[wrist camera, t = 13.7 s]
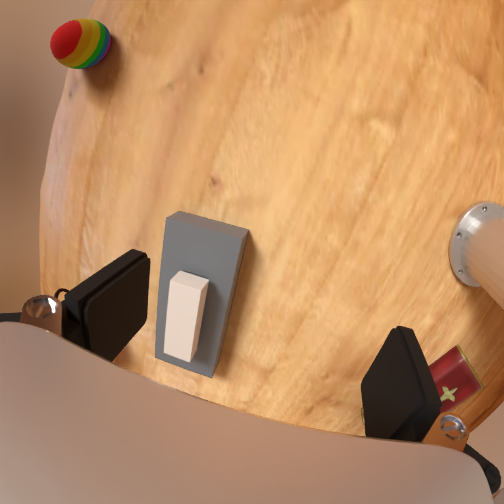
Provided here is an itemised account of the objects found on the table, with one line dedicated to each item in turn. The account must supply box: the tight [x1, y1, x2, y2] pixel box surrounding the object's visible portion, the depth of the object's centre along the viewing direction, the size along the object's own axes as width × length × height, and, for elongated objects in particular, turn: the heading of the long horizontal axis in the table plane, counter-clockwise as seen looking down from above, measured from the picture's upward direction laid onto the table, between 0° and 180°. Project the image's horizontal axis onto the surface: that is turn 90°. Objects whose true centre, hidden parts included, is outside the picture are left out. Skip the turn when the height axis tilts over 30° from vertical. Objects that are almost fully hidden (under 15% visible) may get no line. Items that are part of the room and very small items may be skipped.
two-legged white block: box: [164, 271, 209, 362], centre depth 41 cm, size 12×4×8 cm, turn 167°
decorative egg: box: [50, 19, 111, 69], centre depth 29 cm, size 8×8×10 cm
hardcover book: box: [361, 344, 484, 424], centre depth 42 cm, size 12×21×4 cm, turn 137°
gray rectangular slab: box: [155, 211, 249, 378], centre depth 42 cm, size 24×10×4 cm, turn 167°
